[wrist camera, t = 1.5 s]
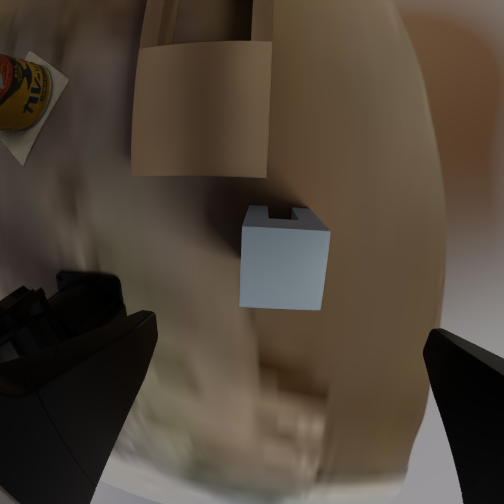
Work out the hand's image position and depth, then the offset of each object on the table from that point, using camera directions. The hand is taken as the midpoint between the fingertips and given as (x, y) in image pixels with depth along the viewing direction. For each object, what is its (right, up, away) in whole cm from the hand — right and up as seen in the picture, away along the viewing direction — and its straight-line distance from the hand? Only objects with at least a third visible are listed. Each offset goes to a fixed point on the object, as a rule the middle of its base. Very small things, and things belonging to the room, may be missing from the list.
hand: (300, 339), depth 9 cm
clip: (0, +4, +12) cm, 12 cm away
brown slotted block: (-4, +17, +8) cm, 19 cm away
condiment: (-21, +15, +9) cm, 28 cm away
